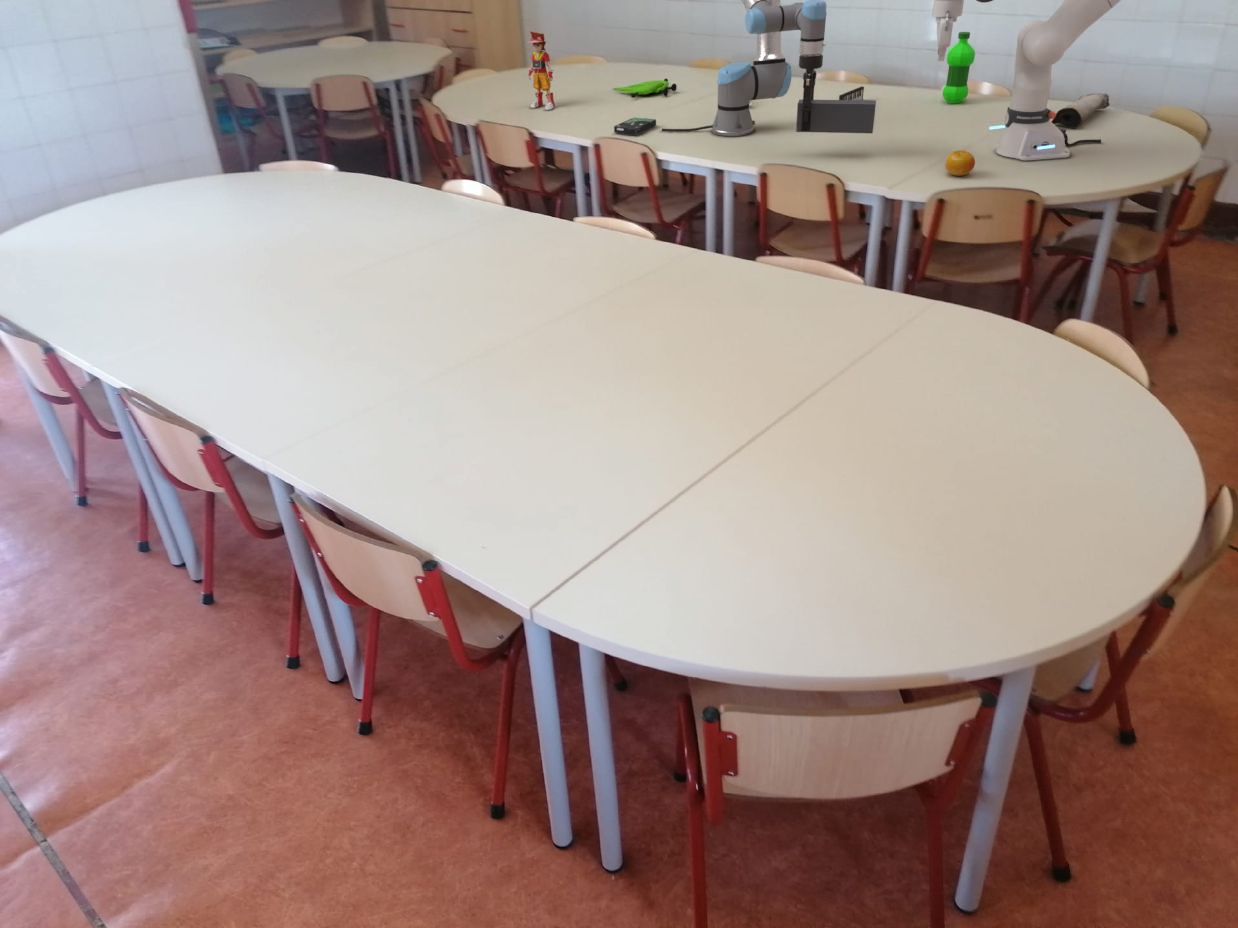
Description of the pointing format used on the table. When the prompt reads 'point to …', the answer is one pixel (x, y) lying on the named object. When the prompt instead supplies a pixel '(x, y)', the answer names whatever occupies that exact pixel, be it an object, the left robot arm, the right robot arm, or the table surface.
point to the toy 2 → (648, 88)
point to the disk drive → (635, 126)
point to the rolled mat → (1081, 109)
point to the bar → (839, 116)
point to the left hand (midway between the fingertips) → (806, 128)
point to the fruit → (960, 163)
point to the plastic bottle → (958, 69)
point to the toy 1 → (541, 71)
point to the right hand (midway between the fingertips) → (940, 57)
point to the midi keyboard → (853, 94)
